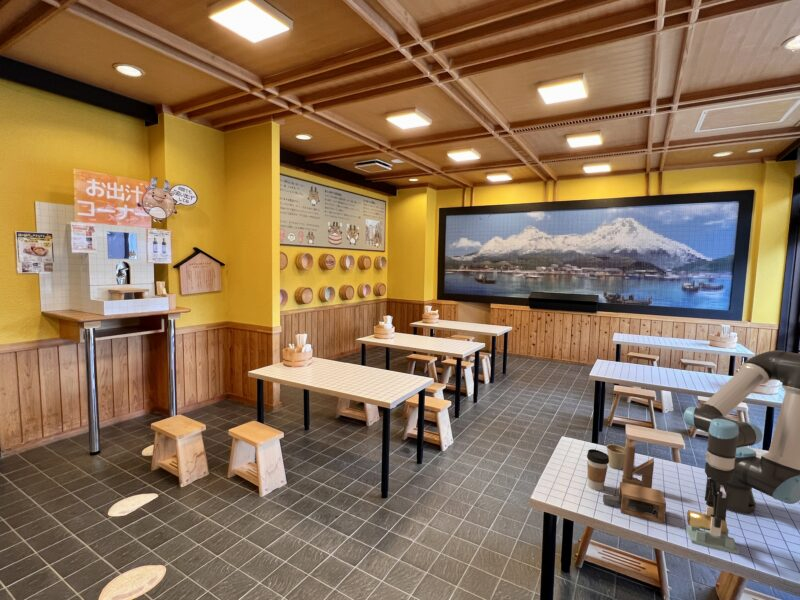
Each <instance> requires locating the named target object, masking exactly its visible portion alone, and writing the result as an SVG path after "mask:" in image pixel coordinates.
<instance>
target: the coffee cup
mask: <svg viewBox="0 0 800 600" xmlns="http://www.w3.org/2000/svg"><path fill="white" fill-rule="evenodd" d="M586 458H587V463H586V464H587V486H588V487H589V489H592V490H593V491H597V492H598V491H599V492H600V491H603V490H604V487H605V486H604V485H605V482H606V476H607V472H608V466H609V464H608V463H609V456H608V453H605V452H604V451H601V450H598V449H594V448H591V449H587V454H586Z"/></svg>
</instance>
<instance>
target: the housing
mask: <svg viewBox="0 0 800 600" xmlns="http://www.w3.org/2000/svg"><path fill="white" fill-rule="evenodd" d="M618 487H619V488H618V489H619V490H618V497H622V502H621V508H620V512H621V513H622V514H624V515H629V516H633V517H637V518H641V519H645V520H650V521H652V522H653V521H654V522H658V523H662V524H665V518H666V510H667V509H666V507H667V502H666V500H665V498H664V495H663V492H662V491H661V490H660V489H655V488H652V489H651V488H647V487H642V486H637V485H633V484H628V483H623V482H622V481H619V486H618ZM628 499H632V500H638V501H643V502H647V503H651V504H652V505H653V507H654V511H657V514H654V513H653V514H650V513H645V512H641V511H636V510H632V509H628Z"/></svg>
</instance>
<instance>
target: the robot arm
mask: <svg viewBox="0 0 800 600" xmlns="http://www.w3.org/2000/svg"><path fill="white" fill-rule="evenodd" d="M772 380H775V381H778V382H779V381H780V382H781V387H782V389H783V390H784V391H785V394H784V397H783V400H782V403H781V407H780V411H779V414H778V417H777V422H776V425H775V428H774V432H773V435H772V438H771V442H770V445H769V446H770V447H769V449H768V452H767V453H762V454H761V457H757V456H758V454H757V452H756V451H755V450H754V449H752V448H750V447H752V446H755V445H757V444H760V442H761V441H762V439H763V432H762V430H761V429H760V427H758V425H756V424H755V423H753V422H749V421H741V422H739V421H737V420H734V419H730V418H728V417H727V416H728V415H729V414H730V413H731V412H733V411H734V409H736V408H737V407H738V406H739V405H740V404H741V403H742V402H743V401H744V400H745V399H746V398H747V397H748V396H749V395H751V394H752V393H753V392H754V391H755V390H756V389H757V388H758V387H759V386H760V385H764V384H767V383H768V382H769V381H772ZM683 420H684V421H683V422H684V423H685V424H687V425H688V426H690V427H692V428H694V429H697V430H699V431H702V432H705V433H707V434H708V440H707V449H706V452H705V453H704V456H705V461H706V462H705V467H704V473H705V475H706V483H705V484H706V486H705V494H704V501H706V503H705V504H706V509H705V510H706V511H705V514H708V515H711V517H712V518H711V528H710V531H709V532H710V534H711V535H716V536H720V535H721V527H722V520H724V521H725V520H727V510H728V511H731V512H735V513H738V514H746V515H747V514H748V515H749V514H754V513H755V512H756V507H757V505H756V502H755V498H754V497H755V496H754V494H753V491H752V489H754V490H755V491H758V492H760V493H763V494H765V495H767V496H769V497H770V498H773V499H774V500H776V501H780V502H782V503H784V504H788V505H793V504H797V503H798V502H800V353H797V352H796V353H795V352H790V351H787V350H779V349H778V350H769V351H765V352H761V353H758V354H756V355H754V356H752V357H751V358H748V359H747V360H746V361H744V362H743V363H742V364H741V365H740V367H739V370H738V372H737V373H736V374H735V375H733V376H732V377H731V378H730V379H729V380H728V381H727V382H726V383H725V384H723V386H721V388H719V390H717V391H716V392H714V394H713V395H711V397H710V398H708V399H707V401H705V402H704V403H703V404H702V405H701V406H700V407H697V406H688V407H687V408H686V409H685V410H684V412H683Z"/></svg>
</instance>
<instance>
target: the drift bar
mask: <svg viewBox="0 0 800 600" xmlns="http://www.w3.org/2000/svg"><path fill="white" fill-rule="evenodd" d="M602 502H603V506H609V507H615V508H620V509H621V502H622V497H619V496H615V495H612V494H611V495H610V494H602ZM628 509H632V510H636V511H641V512H645V513H649V514H653V515H654V511H655V510H654V507H653V505H652V504H651V503H647V502H643V501H638V500H632V499H628Z"/></svg>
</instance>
